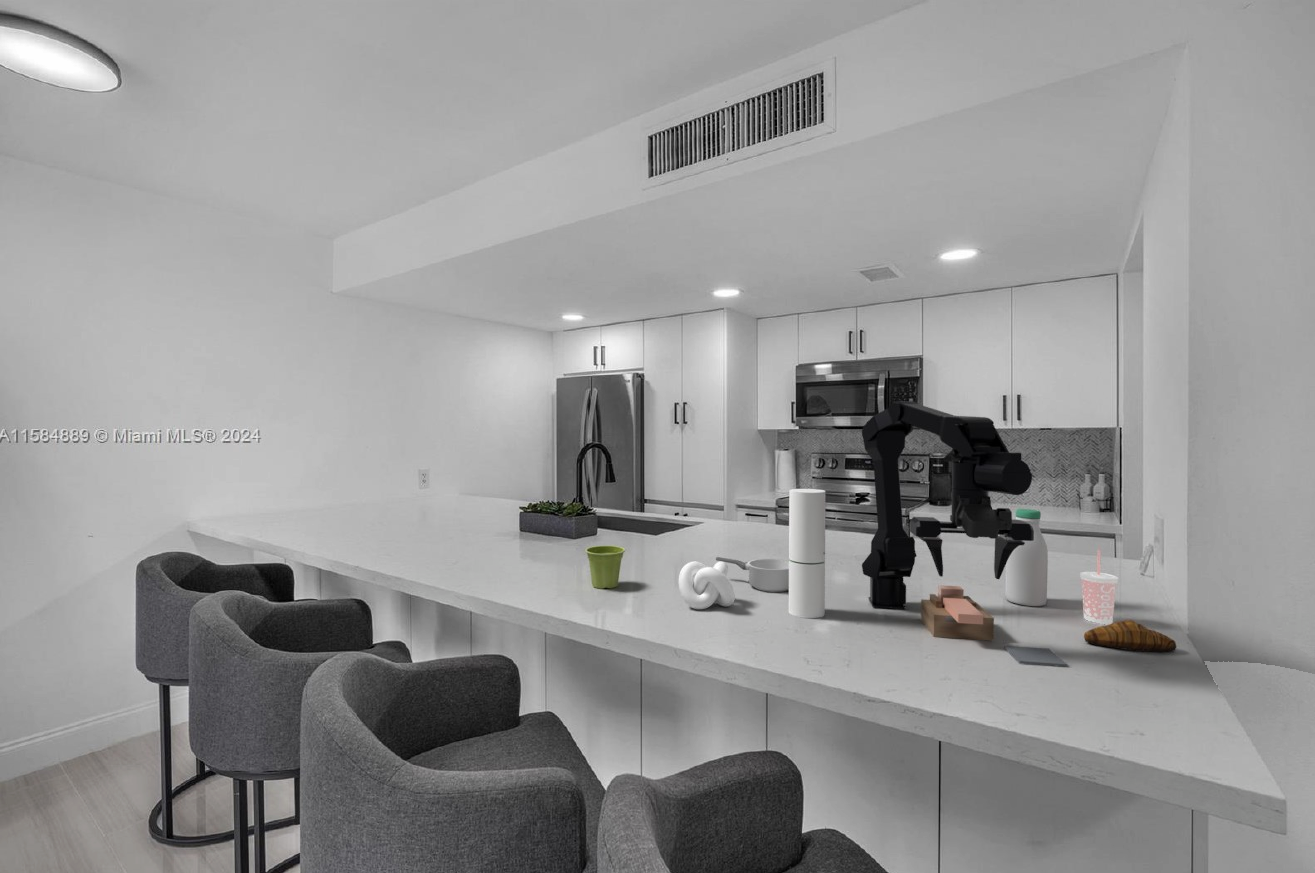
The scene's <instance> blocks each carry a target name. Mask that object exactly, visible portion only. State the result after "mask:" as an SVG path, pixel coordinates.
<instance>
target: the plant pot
mask: <svg viewBox="0 0 1315 873" xmlns="http://www.w3.org/2000/svg"><path fill="white" fill-rule="evenodd" d="M625 551H626V549H625V548H624V547H622V546H617V545H594V546H590V547H587V548H586V549H585V553H586V556H587V559H588V561H589V571H590V578H591V585H592V587H594V588H596V589H602V590H603V589H605V588H608V589H614V588H616V587H618V585H619V580H620V571H621V563H622V559H623V556H624V553H625Z"/></svg>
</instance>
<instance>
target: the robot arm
mask: <svg viewBox="0 0 1315 873" xmlns="http://www.w3.org/2000/svg"><path fill="white" fill-rule="evenodd" d="M914 427H915V428H918V429H921V430H924V431H926V432H928V433H932V434H935V435H936V436H938V437H939V439H940V441H941V442H942V443H943V444H945V445H946V446H947V447H949V448H951V451H950V452H948V453H947V454H946V455H945V456H944V457H943V460H944V462H952V463H951V464H952V465H951V466H952V467H951V491H950V499H951V514H950V515H949V516H950V519H949V520H950V522H948V521H946V522H942V521H941V520H938V519H937V518H935V517H934V516H933V517H932V516H930V517H929V516H913V517H912V518H911V519H910V521H909V532H910V533H911V534H912V535H913V536H915V537H918V538H919V539H920V540H922V542H925V544H926V546H927V548H928V550H929V552H930V554H931V555H930V556H931V557H932V560H933V562H934V565H935V568H936V571H937V574H938V576H939V577H943V576H944V562H943V551H942V550H943V549H942V546H943V539H942V538H941V537H939V536H940V535H941V534H943V533H944V534H947V533H948V534H965V535H966V536H967V537H969V538H973V539H977V538H989V539H994V556H993V557H994V559H993V561H994V563H993V571H994V578H995V579H996V580H1000V578H1001V576H1002V574H1003V572H1004V570H1005V568H1006V563H1007V561H1008V558H1009V557H1010V555H1011V553H1012V552H1013V550H1014V549H1015V548H1017V547H1018V546H1020V545H1024V544H1025V542H1023V541H1033V540H1034V530H1033V527H1032V526H1031V525H1030V524H1029V523H1026V522H1024V521H1021V520H1016V519H1013V514H1012V513H1013V512H1012V510H1011V508H1003V507H998V508H996V509H993V507H992V501H991V496H989V493H991V492H992V493H997V494H1004V495H1005V494H1006V495H1013V496H1020V495H1023V494H1024V493H1026V492H1027V491H1028V490H1029V488H1030V486H1031V484H1032V481H1033V473H1032V471H1031V469H1030V467H1029V465H1028V464H1027V463H1026V462H1025V461H1023V460H1022V452H1011V451H1009V450H1008V447H1007V446H1006V444H1005V443H1004V441H1003V439H1002V438H1001V436H1000V434H999V432H998V430H997V429H996V427H995V425H994V421H993V420H992V419H991V418H989V417H986V416H970V415H969V416H968V415H953V414H951V413H947V412H944V411H941V410H938V409H935V408H932V407H930V406H929V407H928V406H925V405H923V404H920V403H918V402H916V401H905V400H904V401H903V400H902V401H901V400H899V401H895V402H892V403H891V404H890V405H889V407H888V408H886V409H884V410H882V411H880V412H878V413H876V414H874V415H873V416H872V417H871V418H870V419H869V420H868V421H867V422H866V423H865V424H864V425H863V427H862V430H861V438H862V440H863V447H864V450H865V451H866V453H867V454H868V456H869V457H870V459H871V460H872V462H873V475H874V477H873V478H874V489H875V502H876V505H875V506H876V516H877V530H876V532H875V533H874V535H873V537H872V539H871V542H870V553H869V554H868V555H867V557H866V558H865V560H864V561H863V562H862V564H861V568H862V569H861V570H862V574H863V575H864V576H867V577H868V578H869V579H870V580H869V581H870V582H869V587H870V588H869V596H868V597H867V598H868V601H869V603H870V605H871V607H872V608H877V609H897V610H905V609H906V606H905V605H906V604H907V585H906V584H905V582H904V578H911V577H912V572H913V568H914V565H915V562H916V558H917V553H916V549H915V548H916V547H915V546H916V545H915V544H916V541H915V538H914V537H913V536H909V535H908V534H907V532H906V530H905V529H904V523H903V510H902V496H901V484H900V483H901V482H900V470H899V468H900V467H899V459H900V457H901V455H902V453H903V451H904V449H905V447H906V438H907V436H908V435H910V434H911V433H912V432H913V430H914Z"/></svg>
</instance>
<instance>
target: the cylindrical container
mask: <svg viewBox="0 0 1315 873" xmlns="http://www.w3.org/2000/svg"><path fill="white" fill-rule="evenodd" d="M788 493H789V494H788V496H789V497H788V499H789V502H788V503H789V504H788V505H789V506H788V507H789V508H788V513H789V514H788V517H789V518H788V519H789V520H788V535H789V536H788V561H789V590H788V613H789V614H790V615H791V616H794V617H797V618H800V619H801V618H803V619H819V618H822V617H824V616H825V614H826V613H825V611H826V609H825V607H826V606H825V605H826V604H825V603H826V602H825V599H826V597H825V596H826V595H825V594H826V593H825V592H826V586H825V585H826V490H824V489H819V488H818V489H817V488H816V489H815V488H793V489H792V488H791V489H789V492H788Z"/></svg>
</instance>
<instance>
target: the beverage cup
mask: <svg viewBox="0 0 1315 873" xmlns="http://www.w3.org/2000/svg"><path fill="white" fill-rule="evenodd" d="M1101 555H1102V553H1101V549H1097V558H1096V559H1097V560H1096V561H1097V565H1096V566H1097V570H1096V571H1082V572H1079V578H1080V579H1081V591H1082V595H1081V596H1082V609H1083V619H1084V618H1085V619H1086V620H1088V621H1092V622H1096V623H1100V624H1099V625H1104V624H1105V625H1104V626H1107V625H1110V624H1112V623H1114V620H1113V619H1114V610H1115V601H1116V600H1115V599H1116V588H1117V583H1118V582H1119V581H1118V580H1119V577H1118V576H1116V575H1114V574H1111V573H1110V574H1109V573H1106V572H1105V573H1104V572H1101ZM1086 620H1085V621H1086ZM1088 621H1087V622H1088ZM1096 623H1095V624H1096Z"/></svg>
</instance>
